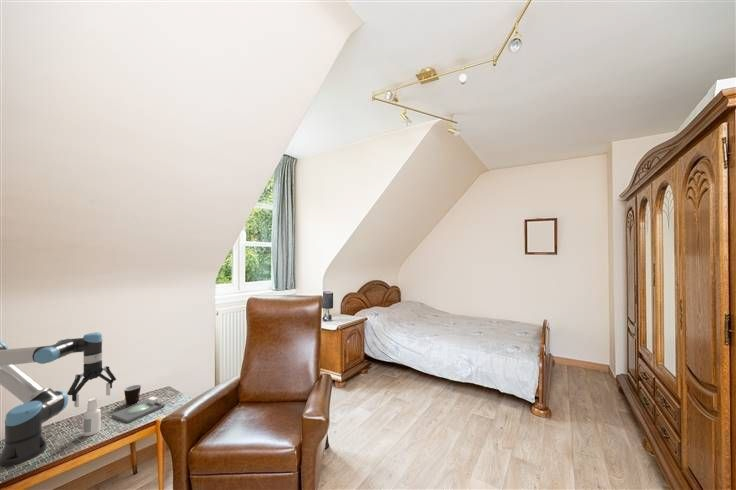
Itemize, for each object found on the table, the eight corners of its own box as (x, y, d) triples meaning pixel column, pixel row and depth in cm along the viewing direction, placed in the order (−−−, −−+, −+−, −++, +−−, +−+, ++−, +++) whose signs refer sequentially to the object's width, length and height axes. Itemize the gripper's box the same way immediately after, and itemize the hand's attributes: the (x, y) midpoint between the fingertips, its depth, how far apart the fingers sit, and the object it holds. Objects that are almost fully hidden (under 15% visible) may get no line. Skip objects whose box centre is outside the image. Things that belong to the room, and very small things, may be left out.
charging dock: (127, 423, 168) (127, 415, 168) (111, 416, 175) (111, 409, 175) (164, 406, 186) (164, 399, 186) (148, 401, 193) (148, 394, 194)
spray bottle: (88, 430, 161) (88, 397, 162) (103, 427, 164) (103, 395, 164) (80, 437, 155) (80, 403, 156) (96, 434, 157) (96, 401, 158)
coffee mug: (133, 406, 187) (133, 390, 188) (120, 406, 187) (120, 390, 188) (147, 397, 199) (147, 382, 199) (135, 397, 199) (135, 383, 199)
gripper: (65, 370, 148) (65, 413, 147) (123, 355, 171) (123, 391, 170) (58, 368, 151) (58, 410, 150) (116, 353, 174) (116, 389, 173)
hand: (92, 400), depth 160 cm, fingers open, 13 cm apart
